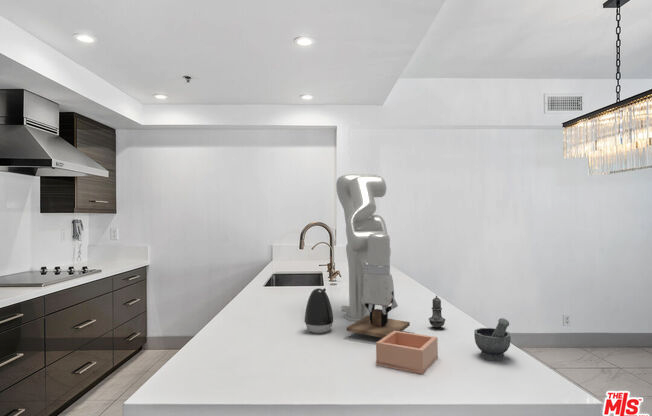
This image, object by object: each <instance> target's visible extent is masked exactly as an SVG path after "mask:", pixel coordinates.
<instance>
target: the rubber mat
mask: <svg viewBox="0 0 652 416" xmlns="http://www.w3.org/2000/svg"><path fill="white" fill-rule="evenodd" d="M402 332H407V333H413V334H415V332H413V331H405V330H403V331H402ZM381 339H382V338H381V337H375V336H370V335H365V334H360V333H355V332H352V334H350V335H348V336H346V337H344V338H343V340H345V341H352V342H357V343H363V344H369V345H375V346H376V342H378V341H379V340H381Z"/></svg>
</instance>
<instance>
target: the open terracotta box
mask: <svg viewBox="0 0 652 416" xmlns="http://www.w3.org/2000/svg"><path fill="white" fill-rule="evenodd" d="M407 332H408V331H406V332H400V331H393V332H392V333H390V334H388V335H387V336H385V337H384V338H382V339H381V340H379V341H378V342H376V345H375V356H376V357H375V358H376V359H375V360H376V361H375V363H376V364H375V365H376V366H380V367H386V368H391V369H393V370H394V369H396V370H400V371H405V372H409V373H415V374H419V375H424V374H425V372H426V371H427V370H428V369H429V368H430V367H431V366H432V365H433V364H434V362H436V360H437V359H438V358H439V356H438V355H439V352H438V351H439V349H438V348H439V345H438V343H439V342H438V336H432V335H425V334H419V333H414V332H413V333H414V334H413V333H407Z"/></svg>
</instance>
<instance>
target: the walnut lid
mask: <svg viewBox="0 0 652 416" xmlns="http://www.w3.org/2000/svg"><path fill="white" fill-rule="evenodd" d="M382 312H383V311H382V308H375V310H373V311H372V324H371V321H370V315H367V316H365V317H364V318H362V319H360V320H358V321H357V322H353V323H352V324H350V325H348V326H347V327H346V331H347V332H351V333H360V334H365V335H370V336H375V337H381V338H384V337H385V336H387V335H388V334H390V333H392V332H393V331H400V332H402V331H405V330H406V329H408V327H410V326H411V325H410V324H411V323H410V321H404V320H398V319H393V318H388V322H387V324H386V325H385V326H381V315H382Z"/></svg>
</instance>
